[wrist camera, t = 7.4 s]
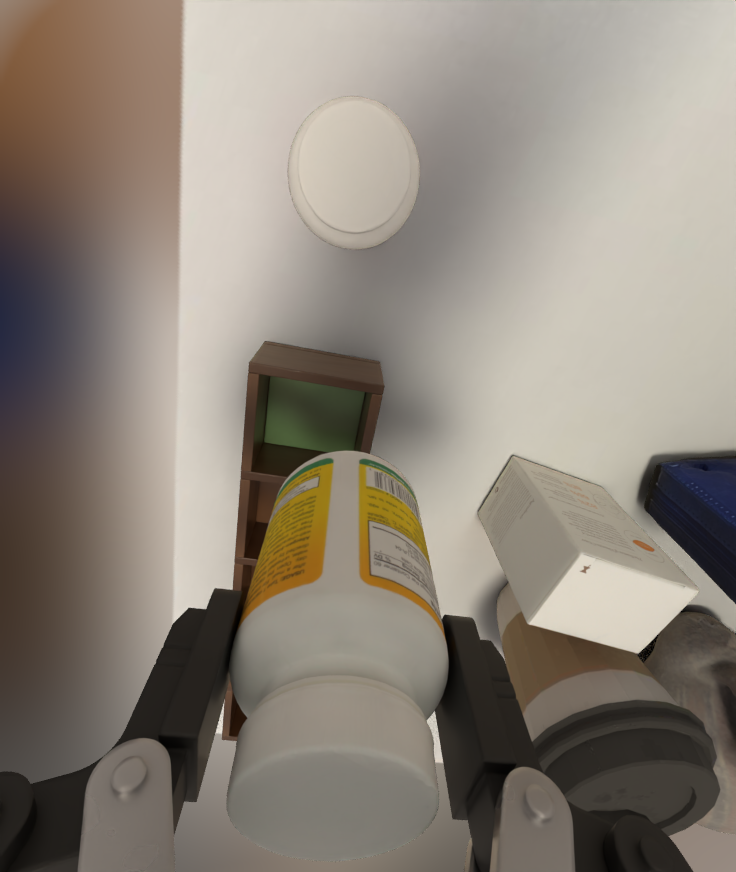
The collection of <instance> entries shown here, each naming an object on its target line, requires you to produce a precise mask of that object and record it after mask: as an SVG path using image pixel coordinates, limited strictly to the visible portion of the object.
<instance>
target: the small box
mask: <svg viewBox="0 0 736 872" xmlns="http://www.w3.org/2000/svg"><path fill="white" fill-rule="evenodd" d="M478 515H479V518H480V520H481V522H482V524H483V527H484V529H485V531H486V533H487V535H488V538H489V540H490V542H491V545H492V547H493V549H494V551H495V553H496V556H497V558H498V560H499V562H500V565H501V567H502V569H503V571H504V573H505V576H506V578H507V580H508V582H509V584H510V587H511V589H512V591H513V593H514V596H515V598H516V600H517V602H518V604H519V606H520V609H521V611H522V613H523V615H524V617H525V620H526V622H527V624H529V625H533V626H537V627H541V628H544V629H548V630H552V631H556V632H560V633H563V634H567V635H571V636H574V637H578V638H582V639H586V640H589V641H593V642H597V643H600V644H604V645H608V646H611V647H615V648H619V649H623V650H626V651H630V652H633V653H637V654H638V653H640V652H641V651H642V650H643V649H644V648H645V647H646V646H647V645H648V644H649V643H650V642H651V641H652V640H653V639H654V638H655V637H656V636H657V635H658V634H659V633H660V632H661V631H662V630H663V629H664V628H665V627H666V626H667V625H668V624H669V623H670V622H671V621H672V620H673V619H674V618H675V617H676V615H677V614H678V613H679V612H680V611H681V610H682V609H683V608H684V607H685V606H686V605H687V604H688V603H689V602H690V601H691V600H692V599H693V598H694V597H695V596H696V595H697V594H698V592H699V588H698V587H697V586H696V585H695V584H694V583H693V582H692V581H691V580H690V579H689V578H688V577H687V576H686V575H685V573H684V572H683V571H682V570H681V569H680V568H679V567H678V566H677V565H676V564H675V563H674V562H673V561H672V560H671V559H670V558H669V557H668V556H667V555H666V554H665V553H664V552H663V551H662V549H661V548H660V547H659V546H658V545H657V544H656V543H655V542H654V541H653V540H652V539H651V538H650V537H649V536H648V535H647V534H646V533H645V532H644V531H643V530H642V529H641V528H640V527H639V525H638V524H637V523H636V522H635V521H634V520H633V519H632V518H631V517H630V516H629V515H628V514H627V513H626V512H625V511H624V510H623V509H622V508H621V507H620V506H619V505H618V504H617V503H616V501H615V500H614V499H613V498H612V497H611V496H610V495H609V494H608V493H607V492H606V491H605V490H604V489H603V488H602V487H600V486H597V485H594V484H591V483H588V482H586V481H583V480H580V479H577V478H574V477H571V476H568V475H566V474H563V473H560V472H557V471H554V470H552V469H549V468H546V467H543V466H540V465H537V464H534V463H532V462H529V461H526V460H523V459H521V458H518V457H515V456H513V457H512V458H511V460H510V461H509V463H508V465H507V466H506V468H505V469H504V471H503V473H502V474H501V476H500V478H499V479H498V481H497V483H496V484H495V486H494V488H493V489H492V491H491V493H490V494H489V496H488V497H487V499H486V501H485V502H484V504H483V506H482V507H481V509H480V510H479V512H478Z"/></svg>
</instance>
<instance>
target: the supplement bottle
mask: <svg viewBox="0 0 736 872" xmlns="http://www.w3.org/2000/svg"><path fill="white" fill-rule="evenodd" d="M448 670H449V658H448V650H447V644H446V639H445V634H444V628H443V623H442V619H441V615H440V610H439V605H438V600H437V595H436V590H435V585H434V581H433V575H432V571H431V566H430V561H429V556H428V551H427V546H426V542H425V537H424V532H423V528H422V523H421V518H420V513H419V508H418V504H417V500H416V496H415V494H414V491H413V489H412V487H411V485H410V484H409V482H408V481H407V479H406V478H405V477H404V475H403V474H402V473H401V472H400V471H399V470H398V469H397V468H395V467H394V466H393V465H391V464H390V463H388V462H387V461H385V460H383V459H381V458H379V457H377V456H374V455H371V454H368V453H364V452H358V451H336V452H330V453H326V454H322V455H319V456H317V457H315V458H313V459H311V460H309V461H308V462H306V463H304V464H303V465H301V466H300V467H298V468H297V469H296V470H295V471H294V472H293V473H291V474H290V476H289V477H288V478H287V479H286V480H285V482H284V483H283V485H282V487H281V488H280V490H279V493H278V495H277V498H276V501H275V503H274V507H273V511H272V514H271V518H270V521H269V524H268V528H267V531H266V535H265V539H264V542H263V545H262V548H261V552H260V555H259V558H258V562H257V565H256V568H255V572H254V575H253V578H252V582H251V585H250V588H249V591H248V594H247V598H246V601H245V604H244V608H243V611H242V614H241V618H240V621H239V624H238V628H237V631H236V634H235V637H234V641H233V645H232V650H231V655H230V662H229V673H230V681H231V686H232V690H233V693H234V696H235V698H236V701H237V703H238V705H239V706H240V708H241V710H242V711H243V713H244V714H245V715H246V717H247V720H246V721H245V722H244V723H243V725H242V728H241V730H240V732H239V734H238V738H237V743H236V752H235V757H234V762H233V766H232V771H231V776H230V781H229V786H228V792H227V812H228V815H229V817H230V820H231V822H232V823H233V825H234V826H235V828H236V829H238V831H239V832H240V833H241V834H242V835H243V836H245V837H246V838H247V839H248V840H250V841H251V842H253V843H254V844H256V845H258V846H260V847H262V848H264V849H266V850H268V851H271V852H274V853H277V854H280V855H283V856H288V857H293V858H298V859H307V860H314V861H346V860H356V859H361V858H367V857H372V856H376V855H379V854H383V853H386V852H388V851H391V850H395V849H397V848H399V847H402V846H404V845H406V844H408V843H409V842H411V841H413V840H414V839H415V838H417V837H418V836H420V835H421V834H423V832H424V831H425V830H426V829H427V828H428V827H429V825H430V824H431V823H432V821H433V820H434V818H435V816H436V813H437V811H438V807H439V806H438V805H439V793H438V792H439V791H438V783H437V775H436V767H435V759H434V742H433V736H432V733H431V730H430V727H429V725H428V724H427V721H426V720H427V719H428V718H429V717H430V716H431V715H432V713H433V712H434V711H435V709H436V707H437V706H438V704H439V702H440V700H441V698H442V696H443V694H444V690H445V687H446V684H447V679H448Z"/></svg>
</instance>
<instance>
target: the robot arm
mask: <svg viewBox="0 0 736 872" xmlns="http://www.w3.org/2000/svg"><path fill="white" fill-rule="evenodd" d="M243 599H244V592H243V591H235V590H226V589H217V588H215V589H214V591H213V593H212V596H211V598H210V601H209V603H208V606H207V609H196V608H188V609H187V610H186V611H185V612H184V613H183V614H182V615H181V616H180V617H179V618H178V619H177V620H176V621H175V622H174V623H173V625H172V627H171V629H170V632H169V634H168V636H167V638H166V640H165V643H164V647H163V648H162V650H161V652H160V654H159V656H158V658H157V660H156V664H155V665H154V667H153V669H152V672H151V674H150V676H149V679H148V680H147V683H146V685H145V687H144V689H143V691H142V694H141V696H140V698H139V700H138V703H137V705H136V707H135V709H134V711H133V714H132V716H131V718H130V720H129V722H128V725H127V727H126V729H125V731H124V733H123V735H122V736H121V738H120V739H119V741H118V742H117V743H116V744H115V746H114V747H113V748H112V749H111V750H110V751H109V752H108V753H107V754H106V755H104V756H103V757H102V758H101V759H99V760H98V761H96V762H95V763H93V764H91V765H90V766H88V767H86V768H84V769H81V770H79V771H76V772H73V773H70V774H66V775H62V776H58V777H55V778H51V779H48V780H44V781H41V782H37V783H33V784H30V782H29V781H28V779H27V778H26V777H24V776H23V775H21V774H19V773H15V772H0V872H175V856H174V855H175V852H174V834H175V831H176V827H177V824H178V820H179V817H180V814H181V810H182V807H183V803H184V801H188V802H197V798H198V794H199V791H200V787H201V783H202V780H203V776H204V772H205V768H206V765H207V761H208V758H209V753H210V750H211V747H212V743H213V739H214V735H215V732H216V728H217V725H218V721H219V717H220V714H221V710H222V706H223V703H224V699H225V695H226V692H227V688H228V684H229V681H230V673H229V662H230V655H231V650H232V645H233V641H234V637H235V634H236V631H237V628H238V624H239V621H240V618H241V614H242V611H243ZM442 623H443V628H444V634H445V639H446V644H447V650H448V658H449V670H448V679H447V684H446V687H445V690H444V694H443V696H442V698H441V700H440V702H439V704H438V706H437V707H436V709H435V714H436V720H437V726H438V732H439V738H440V745H441V751H442V757H443V763H444V769H445V775H446V781H447V788H448V794H449V799H450V806H451V812H452V818H453V819H457V820H468V823H469V829H470V834H471V839H470V841H469V843H468V847H467V852H466V860H465V868H464V872H693V871H692V869H691V867H690V866H689V864H688V863H687V862H686V860H685V858H684V857H683V855H682V854H681V853H680V851H679V849H678V848H677V847H676V845H675V844H674V842H672V840H671V839H670V838H669V837H668V836H667V835H666V834H665V833H664V832H663V831H662V830H661V829H660V828H659V827H658V826H656V825H655V824H653V823H652V822H651V821H649V820H647V819H645V818H643V817H640V816H637V815H626V816H623V817H622V818H620V819H619V820H618V821H617V823H616V824H614V823H611V822H609V821H607V820H605V819H603V818H601V817H598V816H596V815H594V814H592V813H590V812H587V811H585V810H583V809H581V808H579V807H577V806H575V805H573V804H572V803H570V802H569V801H567V800H566V799H565V797H564V795H563V794H562V792H561V791H560V789H559V788H558V787H557V786H556V784H555V783H554V782H553V781H552V780H551V779H550V778H548V777H547V776H546V775H545V774H544V772H543V771H542V769H541V766H540V764H539V761H538V758H537V755H536V752H535V749H534V746H533V743H532V740H531V737H530V735H529V732H528V729H527V726H526V723H525V720H524V717H523V714H522V711H521V708H520V705H519V702H518V700H517V699H516V693H515V690H514V687H513V684H512V683H511V682H510V676H509V673H508V670H507V667H506V664H505V661H504V658H503V657H502V656H501V654H500V653H499V651H498V650H497V649H496V647H495V646H494V645H493V643H492V642H491V641H489V640H480V637H479V634H478V631H477V627H476V624H475V622H474V620H473V619H472V618H470V617H461V616H452V615H444V616H443V618H442Z"/></svg>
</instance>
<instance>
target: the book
mask: <svg viewBox="0 0 736 872" xmlns="http://www.w3.org/2000/svg"><path fill="white" fill-rule="evenodd" d="M644 508H645V510H646V511H647V512H648V513H649V514H650V515H651V516H652V517H653V518H654V520H655V521H656V522H657V523H658V524H659V525H660V526H661V527H662V528H663V529H664V530H665V531H666V532H667V533H668V534H669V535H670V536H671V538H672V539H673V540H674V541H675V542H676V543H677V544H678V545H679V546H680V547H681V548H682V549H683V550H684V551H685V552H686V553H687V554H688V555H689V556H690V557H691V558H692V559H693V560H694V561H695V562H696V563H697V564H698V565H699V566H700V567H701V568H702V569H703V570H704V571H705V572H706V573H707V575H708V576H709V577H710V578H711V579H712V580H713V581H714V582H715V583H716V584H717V585H718V586H719V587H720V588H721V589H722V590H723V591H724V592H725V593H726V595H727V596H728V597H729V598H730V599H731V600H733V601H734V602H735V603H736V456H731V457H709V458H689V459H683V460H680V461H675V462H665V463H659V464H657V465H656V467H655V470H654V474H653V477H652V480H651V483H650V485H649V490H648V494H647V496H646V499H645V503H644Z"/></svg>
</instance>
